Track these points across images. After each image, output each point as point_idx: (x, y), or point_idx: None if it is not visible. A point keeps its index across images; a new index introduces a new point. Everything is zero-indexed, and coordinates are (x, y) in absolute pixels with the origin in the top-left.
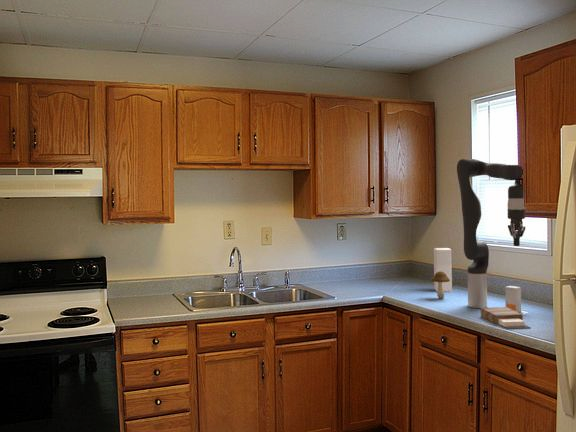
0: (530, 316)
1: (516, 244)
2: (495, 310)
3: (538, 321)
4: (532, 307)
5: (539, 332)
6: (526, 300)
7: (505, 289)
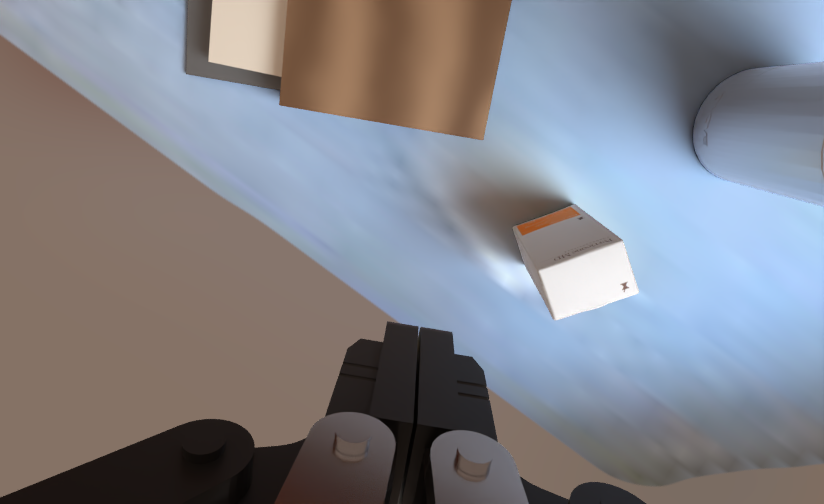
0: (416, 239)
1: (354, 343)
2: (418, 15)
3: (310, 205)
4: (585, 374)
5: (105, 60)
6: (735, 450)
7: (616, 235)
